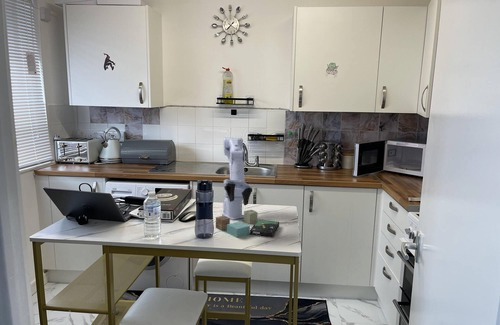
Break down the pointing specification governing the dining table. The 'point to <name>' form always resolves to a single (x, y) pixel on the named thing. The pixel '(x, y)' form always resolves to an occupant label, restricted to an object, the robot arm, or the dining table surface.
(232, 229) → the teal block
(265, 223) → the disk drive
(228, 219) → the walnut block
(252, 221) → the olive block
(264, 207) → the dining table surface
